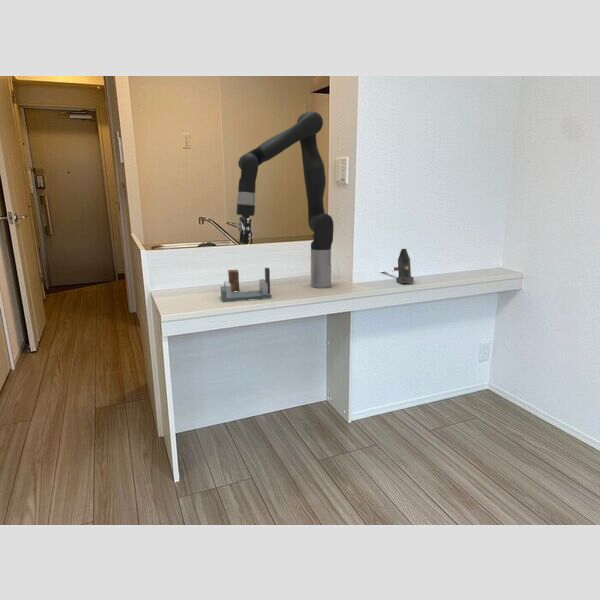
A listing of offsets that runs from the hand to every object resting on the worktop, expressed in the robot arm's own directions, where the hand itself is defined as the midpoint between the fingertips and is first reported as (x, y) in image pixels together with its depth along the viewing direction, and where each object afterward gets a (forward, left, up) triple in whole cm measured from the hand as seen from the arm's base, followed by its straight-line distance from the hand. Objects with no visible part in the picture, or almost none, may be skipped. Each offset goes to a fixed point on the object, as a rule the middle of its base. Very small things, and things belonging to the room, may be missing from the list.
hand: (243, 242), depth 197 cm
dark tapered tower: (-67, -37, -23) cm, 79 cm away
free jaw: (-9, +4, -20) cm, 23 cm away
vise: (-2, +7, -22) cm, 23 cm away
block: (+6, -5, -22) cm, 23 cm away
